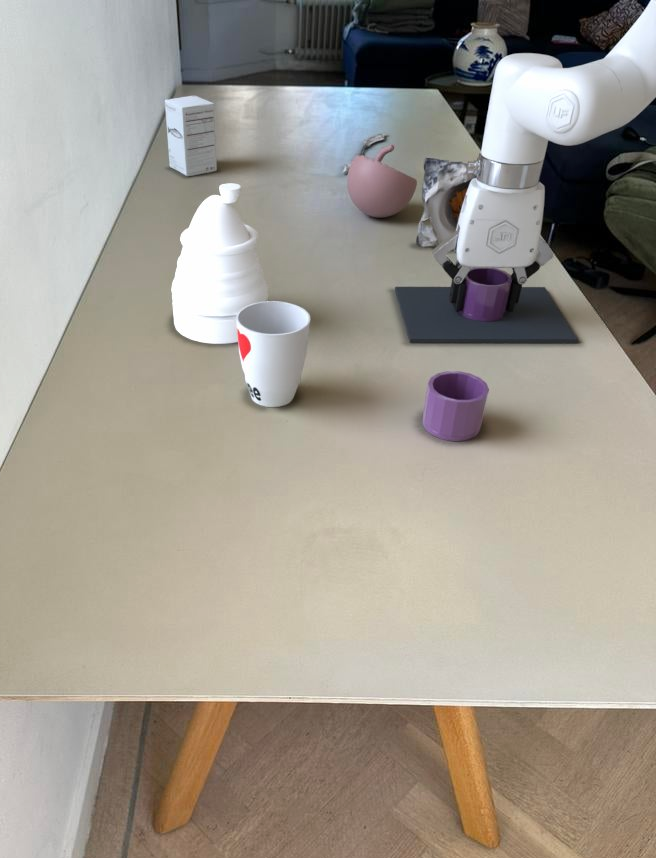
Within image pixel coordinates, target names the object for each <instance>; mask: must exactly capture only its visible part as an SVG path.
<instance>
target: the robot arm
mask: <svg viewBox="0 0 656 858" xmlns="http://www.w3.org/2000/svg"><path fill="white" fill-rule="evenodd" d="M655 99H656V0H650V1H649V2H648V4H647V6H646V7H645V9H644V10H643V12H642V13H641V14H640V16H639V17H638V18H637V19H636V21H635V22H634V23H633V24H632V25H631V27H630V28H629V29H628V30H627V32H626V33H625V34H624V35H623V37H622V38H621V39H620V40H619V41H618V42H617V43H616V45H615V46H613V48H612V49H611V50H610V51H609V52H608V54H606V55H605V57H604V58H601V59H597V60H594V61H590V62H588V63H584V64H581V65H576V66H571V67H563V64H562V62H561V61H560V60H559V59H558V58H556V57H555V56H551V55H548V54H542V53H533V52H522V53H521V52H519V53H512V54H509V55H506V56H504V57H503V58H501V59H500V60H499V62H498V63H497V65H496V67H495V70H494V75H493V79H492V86H491V92H490V96H489V103H488V110H487V114H486V119H485V126H484V132H483V138H482V145H481V150H480V152H479V153H478V157H477V158H476V159H474V160H473V161H472V160H471V161H470V160H469V161H467V162H466V163H467V167H466V172H467V173H472V174H475V175H476V177H477V178H473V179H472V180H471V182H470V184H469V187H468V190H467V192H466V195H465V198H464V202H463V205H462V208H461V212H460V216H459V220H458V224H457V228H456V232H454V233H453V234H452V235H451V236H449V237H448V238H447V239H446V240H444V241H443V242H442V243H441V244H439V245H438V246H437V247H436V246H435V247H434V248H433V249H432V253H431V254H432V255H433V259H435V260H436V262H437V263H438V264H439V265H440V267H442V269H443V271H444V272H445V273H446V274H447V276H449V278H451V284H450V287H451V289H450V295H449V302H450V303H452V304H453V307H454V309H455V312H460V311H461V309H462V304H463V298H464V293H465V287H466V285H465V283H464V278H465V277H466V275H467V273H468V272H469V270H470V269H471V268H497V269H511V271H512V273H511V274H510V275H511V276H512V278H513V280H512V285H511V289H510V294H509V299H508V303H507V308H506V310H507V311H508V312H513V309H514V305H515V304H517V303H518V301H519V297H520V292H521V288H522V287H523V285H525V284H526V283H527V282H528V279H529V278H531V277H533V275H534V274H536V273H537V272H538V271H539V270H540V268H541V267H543V266H544V265H546V264H547V263H548V262H549V261H551V260H552V259H553V258H554V252H553V251H552V250H551V248H550V247H549V246H548V245H547V244H546V242H545V241H544V240H543V239H542V237H541V234H542V233H541V232H542V227H543V219H544V210H545V209H544V207H545V195H546V194H545V193H546V191H545V190H546V189H545V188H546V187H545V185H544V184H543V183H541V181H540V179H541V174H542V169H543V165H544V161H545V157H546V152H547V148H548V143H549V142H552V143H554V144H557V145H560V146H567V147H568V146H571V147H572V146H577V145H581V144H584V143H587V142H589V141H591V140H594V139H596V138H599V137H600V136H602V135H605V134H608V133H609V132H613V131H615V130H617V129H620V128H622V127H624V126H625V125H627V124H629V123H630V122H631V121H632V120H634V119H635V118H637V116H639V115H640V113H641V112H643V111H644V110H645V109H646V108H647V107H648V106H649V105H650V104H651V103H652V102H653V101H654V100H655ZM453 249H454V250H453ZM451 251H453V252H454V253H455V254H456V259H457V260H455V263H454V262H453V261H452V260H451V259H450V258H449V257H448V254H449V253H450V252H451Z"/></svg>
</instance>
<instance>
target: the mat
mask: <svg viewBox="0 0 656 858" xmlns="http://www.w3.org/2000/svg"><path fill="white" fill-rule="evenodd" d="M450 289H451V286H394V292H395V296H396V299H397V303H398V307H399V310H400V313H401V317H402V320H403V323H404V327H405V330H406V334H407V337H408V341H409V343H411V344H415V343H416V344H417V343H418V344H423V343H424V344H431V343H432V344H578V342H579V338H578V337H577V335H576V333H575V332H574V330H573V328H571V326H570V324H569V323H568V321H567V319H566V318H565V316H564V315H563V313H562V311H561V310H560V308H559V307H558V305H557V303H556V302H555V300H554V299H553V298H552V295H550V293H549V291H548V290H547V288H546V287H545V286H522V288H521V292H520V297H519V301H518V303H517V304H515V305H514V309H513V312H508V311H507V310H506V311H505V315H504V317H503V318H501V319H499V320H496V321H488V322H485V321H476V320H472V319H469V318H466V317H464V316H463V315H461V314H460V313H459V312H455V309H454V307H453V304H452V303H450V302H449V295H450Z"/></svg>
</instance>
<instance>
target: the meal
mask: <svg viewBox="0 0 656 858" xmlns="http://www.w3.org/2000/svg"><path fill="white" fill-rule="evenodd" d="M466 167H467V162H465V161H450V160H448V159H440V158H433V157H424V159H423V171H424V175H423V178H422V184H421V185H422V187H421V199H422V203H423V204H422V205H423V208H424V210H423V212H422V215H421V218H420V220H419V221H418V226H417V235H416V238H415V245H416V246H417V245H418V246H419V247H422V248H425V247H430V246H434V247H435V248H436V247H437V246H438V245H439V244H441V243H442V242H443V241H444V240H446V239H447V238H448V237H449V236H451V235H452V234H453V233H454V232H456V228H457V224H458V220H459V216H460V212H461V208H462V205H463V202H464V198H465V195H466V192H467V190H468V187H469V184H470V182H471V180H472V179H473V178H477V177H476V175H475V174H472V173H467V172H466ZM426 220H429V221H430V224H431V225H427V224H424V221H426ZM452 251H454V249H453V250H452Z"/></svg>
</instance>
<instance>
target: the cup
mask: <svg viewBox="0 0 656 858" xmlns="http://www.w3.org/2000/svg"><path fill="white" fill-rule="evenodd" d="M236 321H237V333H238V342H237V343H238V344H237V345H238V353H239V359H240V363H241V367H242V373H243V379H244V382H245V384H246V387H247V389H248V392H249V395H250V397H251V400H252V401H253V402H254V403H255V404H257V405H260V406H261V407H266V408H279V407H280V408H281V407H283V406H287V405H289V404H290V403H291V402H292V401H293V399H294V397H295V395H296V393H297V390H298V387H299V385H300V382H301V379H302V376H303V371H304V367H305V362H306V357H307V352H308V344H309V334H310V327H311V326H310V325H311V324H310V323H311V315H310V313H309V312H308V310H307V309H305V308H304V307H301V305H300V306H299V305H297V304H295V303H290V302H286V301H279V300H278V301H277V300H268V301H265V302H258V303H254V304H251V305H248V306H246V307H244V308H242V309H241V310H240V311H239V312H238V313H237V316H236Z"/></svg>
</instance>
